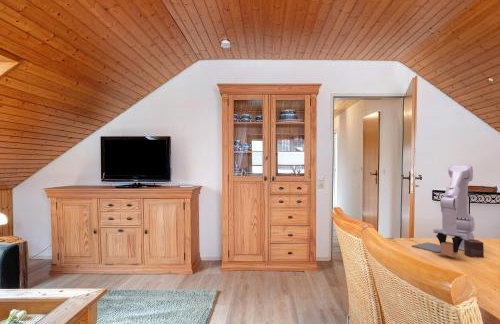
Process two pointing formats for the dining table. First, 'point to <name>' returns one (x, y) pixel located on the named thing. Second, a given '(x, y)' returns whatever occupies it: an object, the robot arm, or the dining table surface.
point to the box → (473, 248)
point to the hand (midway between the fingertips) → (449, 250)
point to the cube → (448, 249)
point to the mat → (429, 247)
